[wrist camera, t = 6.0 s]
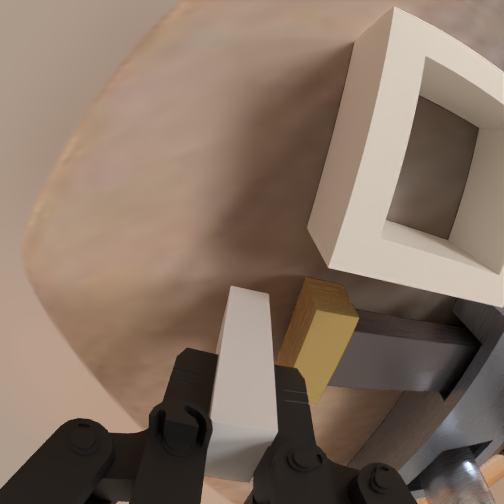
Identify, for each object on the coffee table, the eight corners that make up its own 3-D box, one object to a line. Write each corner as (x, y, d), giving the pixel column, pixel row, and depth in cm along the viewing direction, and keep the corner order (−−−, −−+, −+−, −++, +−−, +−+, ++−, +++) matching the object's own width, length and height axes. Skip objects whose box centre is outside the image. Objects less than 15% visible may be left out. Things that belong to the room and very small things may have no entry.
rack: (354, 40, 10) (394, 6, 6) (499, 116, 10) (556, 120, 6) (306, 228, 12) (327, 268, 9) (455, 268, 13) (502, 307, 9)
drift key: (305, 276, 12) (316, 310, 10) (510, 318, 13) (534, 341, 11) (276, 360, 14) (279, 400, 12) (476, 376, 15) (494, 402, 12)
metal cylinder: (423, 412, 17) (490, 580, 4) (461, 409, 17) (530, 552, 4) (394, 447, 18) (439, 601, 5) (433, 443, 18) (483, 578, 5)
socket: (464, 281, 13) (509, 320, 9) (546, 304, 14) (579, 333, 10) (346, 466, 19) (355, 508, 15) (440, 456, 19) (454, 489, 16)
